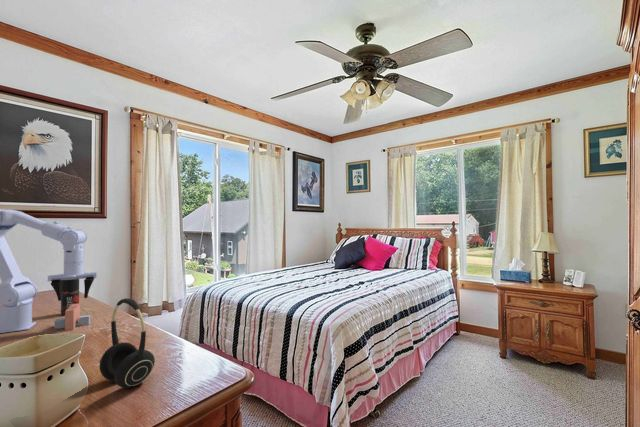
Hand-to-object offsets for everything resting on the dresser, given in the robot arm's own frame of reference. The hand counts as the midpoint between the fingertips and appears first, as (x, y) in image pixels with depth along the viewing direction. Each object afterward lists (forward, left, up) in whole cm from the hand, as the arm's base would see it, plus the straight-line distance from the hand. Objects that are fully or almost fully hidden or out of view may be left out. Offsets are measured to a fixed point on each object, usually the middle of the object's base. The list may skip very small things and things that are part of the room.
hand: (73, 298), depth 116 cm
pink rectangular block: (0, 0, -10) cm, 10 cm away
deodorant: (-5, +20, -10) cm, 23 cm away
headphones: (+22, -57, -10) cm, 62 cm away
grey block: (0, 0, -10) cm, 10 cm away
